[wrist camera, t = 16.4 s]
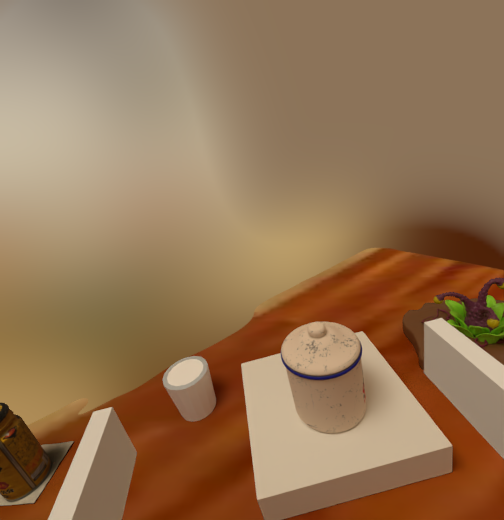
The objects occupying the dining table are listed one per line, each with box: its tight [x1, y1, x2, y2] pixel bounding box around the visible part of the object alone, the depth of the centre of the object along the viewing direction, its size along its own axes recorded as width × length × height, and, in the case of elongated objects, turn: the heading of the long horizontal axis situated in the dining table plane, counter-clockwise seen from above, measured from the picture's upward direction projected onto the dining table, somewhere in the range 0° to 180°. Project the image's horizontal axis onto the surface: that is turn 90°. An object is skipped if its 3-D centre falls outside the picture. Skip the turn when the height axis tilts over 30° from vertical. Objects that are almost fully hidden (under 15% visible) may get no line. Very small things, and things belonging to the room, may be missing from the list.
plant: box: [403, 278, 504, 370], centre depth 44 cm, size 20×20×11 cm
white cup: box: [163, 356, 216, 422], centre depth 47 cm, size 7×7×7 cm
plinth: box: [241, 331, 453, 520], centre depth 40 cm, size 20×20×4 cm
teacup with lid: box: [281, 322, 367, 433], centre depth 37 cm, size 12×9×12 cm
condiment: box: [0, 403, 73, 506], centre depth 42 cm, size 7×8×12 cm
